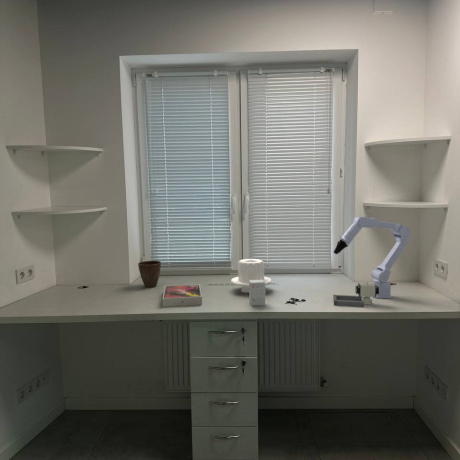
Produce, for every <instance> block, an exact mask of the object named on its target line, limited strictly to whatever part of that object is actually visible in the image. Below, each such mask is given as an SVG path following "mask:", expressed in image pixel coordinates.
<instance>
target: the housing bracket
mask: <svg viewBox="0 0 460 460" xmlns="http://www.w3.org/2000/svg"><path fill="white" fill-rule="evenodd" d="M332 296H333V297H332V299H333V300H332V301H333V305H334V306H340V307H342V306H345V307H359V308H361V307H362V308H364V307H365V305H364V301H361V299H363V297H359V295H347V294H346V295H345V294H333V295H332Z"/></svg>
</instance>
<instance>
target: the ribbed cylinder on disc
mask: <svg viewBox="0 0 460 460" xmlns="http://www.w3.org/2000/svg"><path fill="white" fill-rule="evenodd" d="M249 280H263V281H264V282H265V287H266V286H268V285H270V284H272V279H271V278H270V277H267V276H265V262H264V260H262V259H257V258H244V259H239V260H238V262H237V276H236V277H233V278H232V279H231V281H230V282H231V284H233V286H237V287H241V292H242V293H248V294H249Z"/></svg>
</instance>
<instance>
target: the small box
mask: <svg viewBox="0 0 460 460" xmlns="http://www.w3.org/2000/svg"><path fill="white" fill-rule="evenodd" d="M248 296H249V298H248V299H249V304H251V305H250V306H251V307H252V306H266V286H265V282H264V281H263V280H249V293H248Z"/></svg>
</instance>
